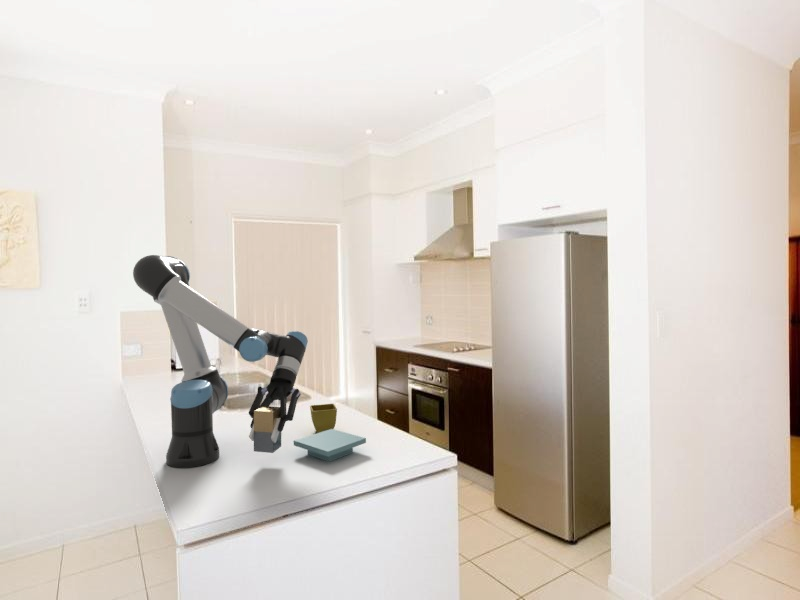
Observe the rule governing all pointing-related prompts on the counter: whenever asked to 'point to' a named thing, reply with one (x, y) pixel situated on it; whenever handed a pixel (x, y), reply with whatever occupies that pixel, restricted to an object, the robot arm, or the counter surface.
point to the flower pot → (323, 417)
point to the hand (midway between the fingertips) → (262, 439)
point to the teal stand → (329, 444)
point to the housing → (266, 429)
